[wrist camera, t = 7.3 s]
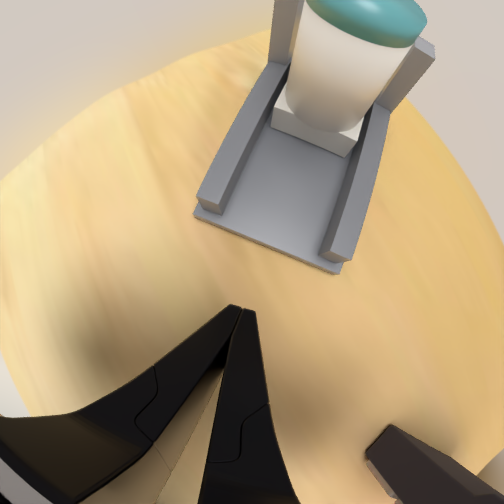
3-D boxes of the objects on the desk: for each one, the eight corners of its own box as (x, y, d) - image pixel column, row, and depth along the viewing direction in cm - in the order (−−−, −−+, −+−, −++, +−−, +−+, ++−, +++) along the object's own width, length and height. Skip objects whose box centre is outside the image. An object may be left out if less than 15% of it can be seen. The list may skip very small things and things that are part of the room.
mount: (333, 275, 17) (419, 264, 8) (195, 217, 17) (148, 152, 8) (379, 123, 18) (438, 48, 9) (267, 77, 18) (279, -19, 9)
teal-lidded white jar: (342, 162, 16) (431, 49, 6) (268, 131, 16) (291, -11, 6) (358, 109, 17) (426, 2, 6) (292, 82, 17) (322, -43, 6)
